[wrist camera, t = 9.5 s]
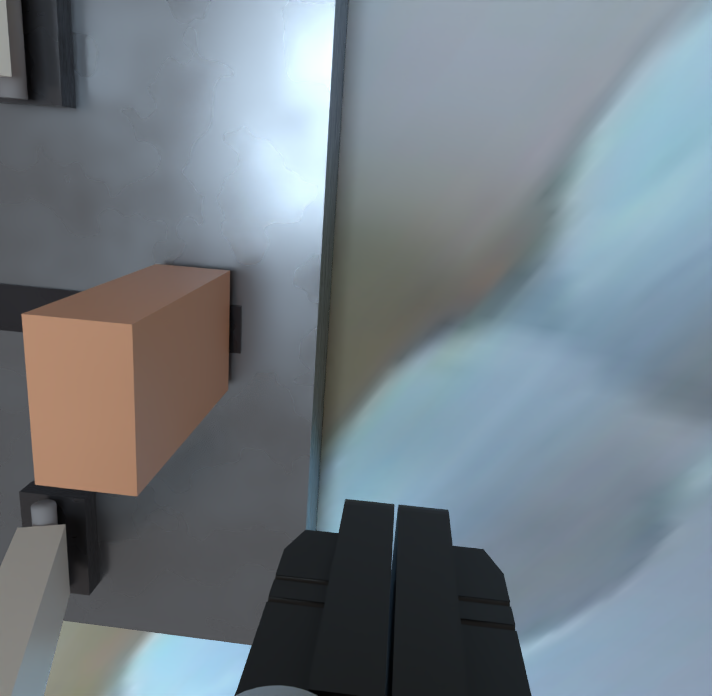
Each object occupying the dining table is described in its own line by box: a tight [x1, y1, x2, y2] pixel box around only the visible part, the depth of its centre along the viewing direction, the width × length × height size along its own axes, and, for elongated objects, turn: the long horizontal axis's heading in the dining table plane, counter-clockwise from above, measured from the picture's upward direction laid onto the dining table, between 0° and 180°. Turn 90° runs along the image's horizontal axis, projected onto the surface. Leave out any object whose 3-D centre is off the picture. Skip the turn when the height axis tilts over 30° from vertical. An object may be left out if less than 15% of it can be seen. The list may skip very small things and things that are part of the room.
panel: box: [0, 0, 348, 645], centre depth 22 cm, size 16×25×4 cm, turn 176°
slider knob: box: [21, 264, 230, 496], centre depth 17 cm, size 2×4×7 cm, turn 176°
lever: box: [0, 499, 70, 696], centre depth 19 cm, size 2×4×8 cm, turn 176°
